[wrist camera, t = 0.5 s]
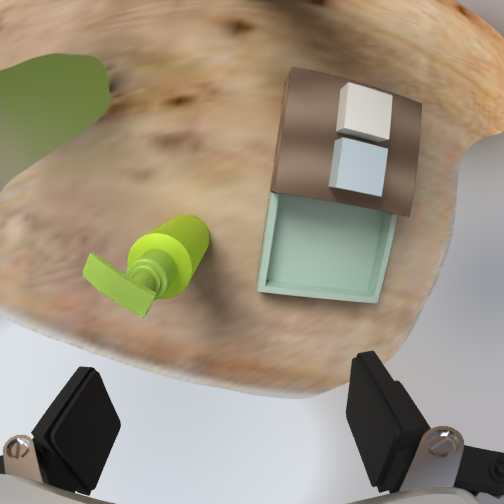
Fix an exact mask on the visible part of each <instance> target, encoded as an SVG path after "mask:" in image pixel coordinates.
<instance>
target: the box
mask: <svg viewBox="0 0 504 504" xmlns="http://www.w3.org/2000/svg"><path fill="white" fill-rule="evenodd" d="M396 220H397V215H395V214H392V213H388V212H384V211H379V210H374V209H369V208H364V207H359V206H353V205H348V204H343V203H337V202H331V201H326V200H320V199H314V198H308V197H302V196H295V195H289V194H282V193H276V192H270V195H269V202H268V209H267V216H266V223H265V230H264V237H263V243H262V250H261V257H260V264H259V270H258V277H257V291H258V292H266V293H275V294H284V295H293V296H302V297H312V298H322V299H333V300H343V301H355V302H366V303H377V302H378V299H379V295H380V291H381V287H382V284H383V280H384V276H385V272H386V267H387V263H388V259H389V254H390V250H391V245H392V241H393V236H394V231H395V226H396Z"/></svg>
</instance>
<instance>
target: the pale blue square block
mask: <svg viewBox="0 0 504 504" xmlns="http://www.w3.org/2000/svg"><path fill="white" fill-rule="evenodd" d="M387 153H388V149H387V148H383V147H379V146H376V145H372V144H368V143H364V142H360V141H356V140H352V139H348V138H344V137H343V138H340V139H338V140H335V143H334V151H333V158H332V165H331V172H330V179H329V187H334V188H339V189H344V190H350V191H355V192H359V193H364V194H369V195H375V196H380V197H382V190H383V184H384V177H385V170H386V162H387Z"/></svg>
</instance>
